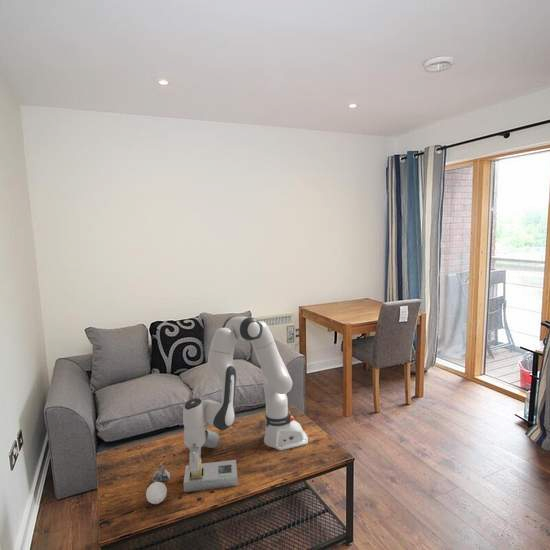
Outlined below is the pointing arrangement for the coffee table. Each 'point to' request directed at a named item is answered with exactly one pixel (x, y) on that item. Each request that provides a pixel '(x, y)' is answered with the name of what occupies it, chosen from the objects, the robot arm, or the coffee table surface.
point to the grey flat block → (212, 476)
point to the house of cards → (161, 475)
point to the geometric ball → (156, 492)
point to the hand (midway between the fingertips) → (196, 468)
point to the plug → (198, 471)
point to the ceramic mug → (211, 439)
